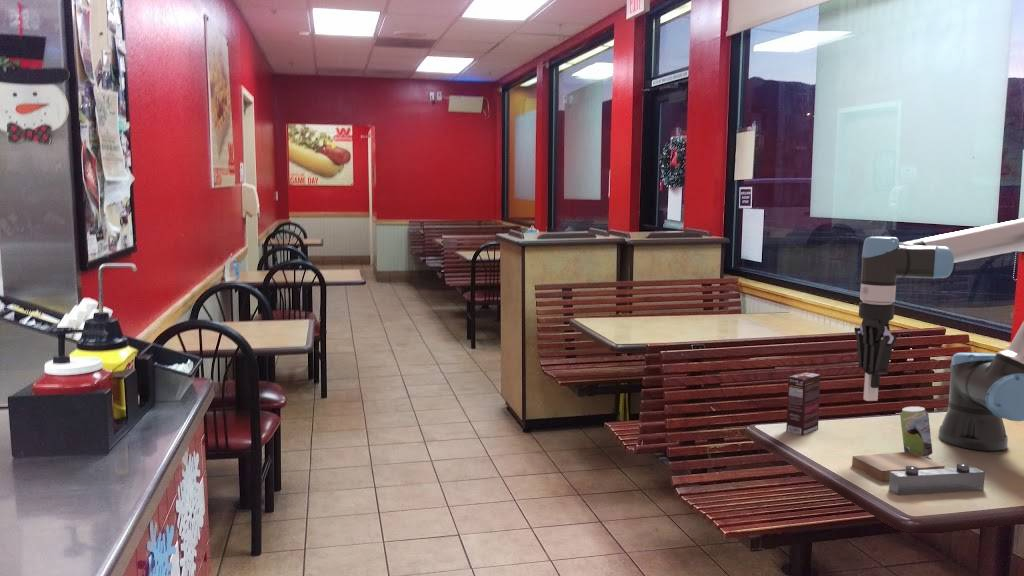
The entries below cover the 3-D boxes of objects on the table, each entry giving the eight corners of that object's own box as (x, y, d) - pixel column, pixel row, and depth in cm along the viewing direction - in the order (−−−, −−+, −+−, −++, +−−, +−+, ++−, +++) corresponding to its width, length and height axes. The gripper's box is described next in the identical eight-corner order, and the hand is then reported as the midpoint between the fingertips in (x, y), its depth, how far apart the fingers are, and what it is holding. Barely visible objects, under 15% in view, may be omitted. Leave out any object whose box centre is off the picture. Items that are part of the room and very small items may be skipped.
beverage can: (935, 461, 182) (939, 412, 181) (902, 459, 184) (905, 410, 182) (927, 453, 188) (930, 405, 187) (894, 451, 190) (897, 403, 188)
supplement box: (801, 429, 207) (804, 371, 206) (818, 433, 204) (821, 374, 202) (784, 435, 202) (787, 376, 200) (801, 440, 198) (804, 379, 196)
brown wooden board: (911, 463, 182) (912, 451, 182) (943, 478, 172) (944, 465, 172) (851, 468, 178) (852, 456, 178) (881, 484, 169) (882, 471, 168)
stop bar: (973, 484, 167) (974, 461, 167) (983, 490, 164) (985, 466, 164) (888, 489, 164) (890, 466, 164) (897, 495, 161) (899, 471, 161)
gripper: (846, 298, 188) (840, 393, 190) (879, 306, 175) (872, 407, 178) (874, 298, 189) (868, 392, 192) (909, 305, 176) (902, 406, 179)
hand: (870, 399), depth 185 cm, fingers closed
